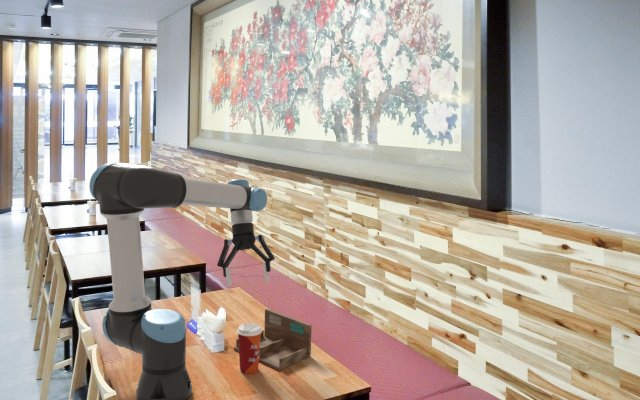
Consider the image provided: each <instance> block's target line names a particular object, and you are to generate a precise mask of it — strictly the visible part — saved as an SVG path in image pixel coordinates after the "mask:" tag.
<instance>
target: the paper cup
mask: <svg viewBox="0 0 640 400" xmlns="http://www.w3.org/2000/svg"><path fill="white" fill-rule="evenodd" d="M262 330H263V329H262V327H261V325H259V324H257V323H250V322H248V323H242V324H240V325H239V326H238V329H237V331H236V332H237V334H238V335H237V337H238V338H237V339H239V352H238V353H239V354H238V355H239V357H238V358H239V370H240V372H241V373H243V374H245V375H250V374H251V375H252V374H255V373H257V372H258V371H259V364H260V362H259V353H260V339H261V333H262Z"/></svg>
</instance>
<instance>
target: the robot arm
mask: <svg viewBox="0 0 640 400" xmlns="http://www.w3.org/2000/svg"><path fill="white" fill-rule="evenodd" d="M249 183H250V182H249V180H247V179H242V178H241V179H239V178H238V179H232V180H229V181H228V183H223V182H217V181H208V180H202V179H195V178H194V179H193V178H186V177H185V176H183V175H182V174H180V173H176V172H170V171H167V170H163V169H160V168H155V167H152V166H147V165H144V164H134V163H125V162H107V163H104V164H102V165H100V166H99V167H97V168H96V169H95V171H94V172H93V173H92V175H91V177H90V180H89V186H88V187H89V192H90V195H91V196H92V198H94V200H95V201H97V202H98V205H99V214H100V215H101V216H103V217H105V219H106V225H107V227H106V228H107V237H108V248H109V251H108V252H109V258H110V259H109V260H110V272H111V283H112V295H113V299H112V301H110V302H109V304H108V309H107V310H106V312H105V316H103V318H102V324H101V325H102V332H103V334H104V336H105V338H106V339H107V340H108V341H109V342H111V343H112V344H114V345H115V346H118V347H120V348H124V349H126V350H129V351H132V352H134V353H136V354H140V355H141V360H142V362H141V363H142V365H141V366H142V369H141V370H142V371H141V374H140V377H139V380H138V383H137V386H136V389H135V399H136V400H188V399H189V398H190V397H192V393H193V384H192V381H191V378H190V375H189V372H188V370H187V366H186V365H187V364H186V363H187V362H186V357H187V356H186V353H187V347H186V346H187V342H186V341H187V328H186V320H185V318H184V316H183V315H182V314H181V313H179V312H178V311H177V310H173V309H171V308H170V309H169V308H166V309H164V308H154V309H152V308H153V307H152V300H151V298H150V297H149V296H147V295H146V289H145V287H146V286H145V277H144V274H145V273H144V264H143V263H144V262H143V250H142V236H141V234H142V233H141V225H140V224H141V223H140V216H141V214H142V213H143V212H144V211H145V209H157V208H158V209H162V208H163V209H164V208H170V209H177V208H179V207H181V206H190V207H191V206H194V207H206V208H207V207H209V208H219V209H229V210H230V222H231V224H232V225H231V233H232V239H228V238H225V239H224V240H223V247H222V249H221V250H222V251H221V253H220V256H219V258H218V261H217V267H220V268H222V272H223V278H226V286H227V287H232V286H233V283H232V274H231V273H232V272H231V267H229V266H230V264H231V263H232V261H233V259H234V258H235V257H236V255H237V254H238V252H239V251H245V250H252V251H254V252H255V254H256V255H258V257H260V258H261V259H262V260H263V261H264V262H263V263H262V267H263V275H264V276H263V277H264V283H270V277H269V273H270V272H271V271H272V269H271V268H272V267H271V262H272V261H274V260H275V259H276V257H275V256H274V253H273V252H272V251H271V249H270V247H269V246H268V245H267V242H266V241H265V237H264V235H263V234H258V235H255V229H254V223H253V221H254V220H253V212H260V211H263V210H264V209H265V207H266V205H267V203H268V194H267V192H266V190H264V189H263V188H262V187H256V186H253V187H252V186H250V184H249ZM256 242H258V243H259V244H260V245H261V247H262V249H263V250H264V252H265V253H266V254H265V253H263V252H262V250H260V248H259V247H257V245H256V244H255V243H256ZM232 244H233V248H232V249H231V251H230V252H229V250H230V246H231V245H232ZM228 252H229V254H228ZM227 255H228V256H227Z"/></svg>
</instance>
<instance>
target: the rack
mask: <svg viewBox="0 0 640 400" xmlns="http://www.w3.org/2000/svg"><path fill="white" fill-rule="evenodd" d="M312 329H313V328H312V324H310V323H307V322H304V321H302V320H300V319H296V318H295V317H291V316H289V315H285V314H283V313H280V312H278V311H275V310H272V309H269V308H265V309H264V329H262V333H261V339H260V353H259V363H260V364H263V365H265V366H267V367H270V368H271V369H274V370H276V371H280V370H283V369H285V368H287V367H290V366H291V365H294V364H296V363H298V362H301V361H303V360H306V359H307V358H310V357H312V356H311V354H312V353H311V351H312ZM235 341H236V342H235V343H236V344H235V346H234V347H233V351H236V352H238V353H239V339H238V338H236V339H235Z"/></svg>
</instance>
